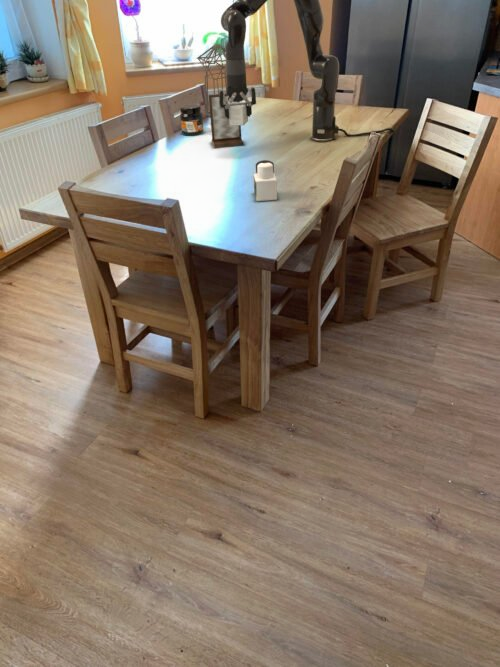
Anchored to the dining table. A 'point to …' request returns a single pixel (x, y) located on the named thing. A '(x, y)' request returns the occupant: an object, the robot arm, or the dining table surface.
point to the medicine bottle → (265, 181)
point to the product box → (238, 113)
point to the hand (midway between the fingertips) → (238, 117)
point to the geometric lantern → (214, 48)
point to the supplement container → (191, 119)
